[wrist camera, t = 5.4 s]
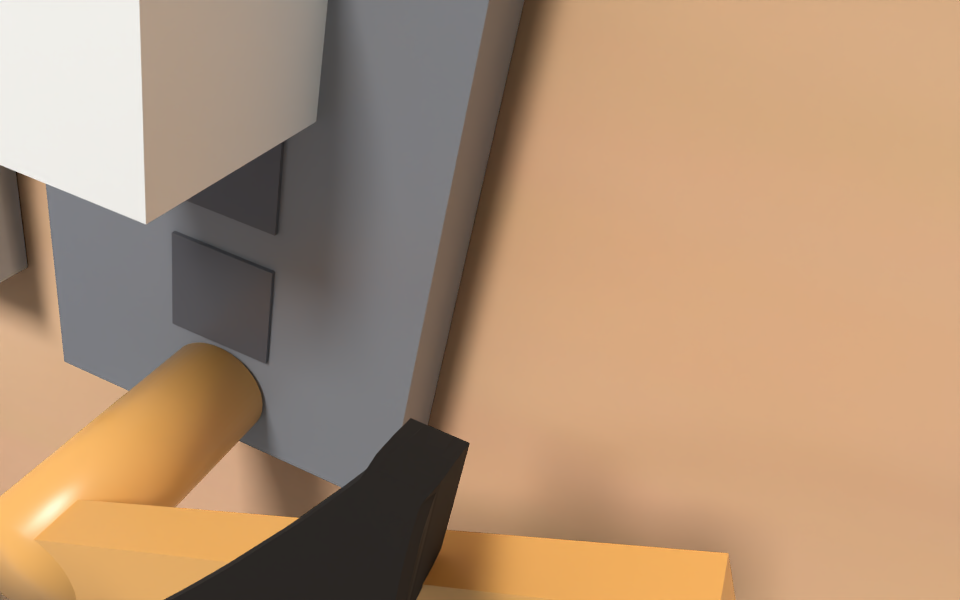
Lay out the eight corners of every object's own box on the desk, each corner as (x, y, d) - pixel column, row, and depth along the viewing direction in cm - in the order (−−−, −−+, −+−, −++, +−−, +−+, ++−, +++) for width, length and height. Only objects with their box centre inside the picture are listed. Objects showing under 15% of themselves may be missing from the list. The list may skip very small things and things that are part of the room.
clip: (197, 428, 20) (6, 612, 16) (157, 343, 19) (-59, 513, 15) (773, 445, 15) (737, 737, 10) (759, 327, 14) (714, 591, 9)
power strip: (421, 453, 21) (383, 510, 19) (120, 321, 23) (61, 363, 21) (572, -214, 13) (530, -215, 11) (84, -342, 15) (-17, -361, 13)
